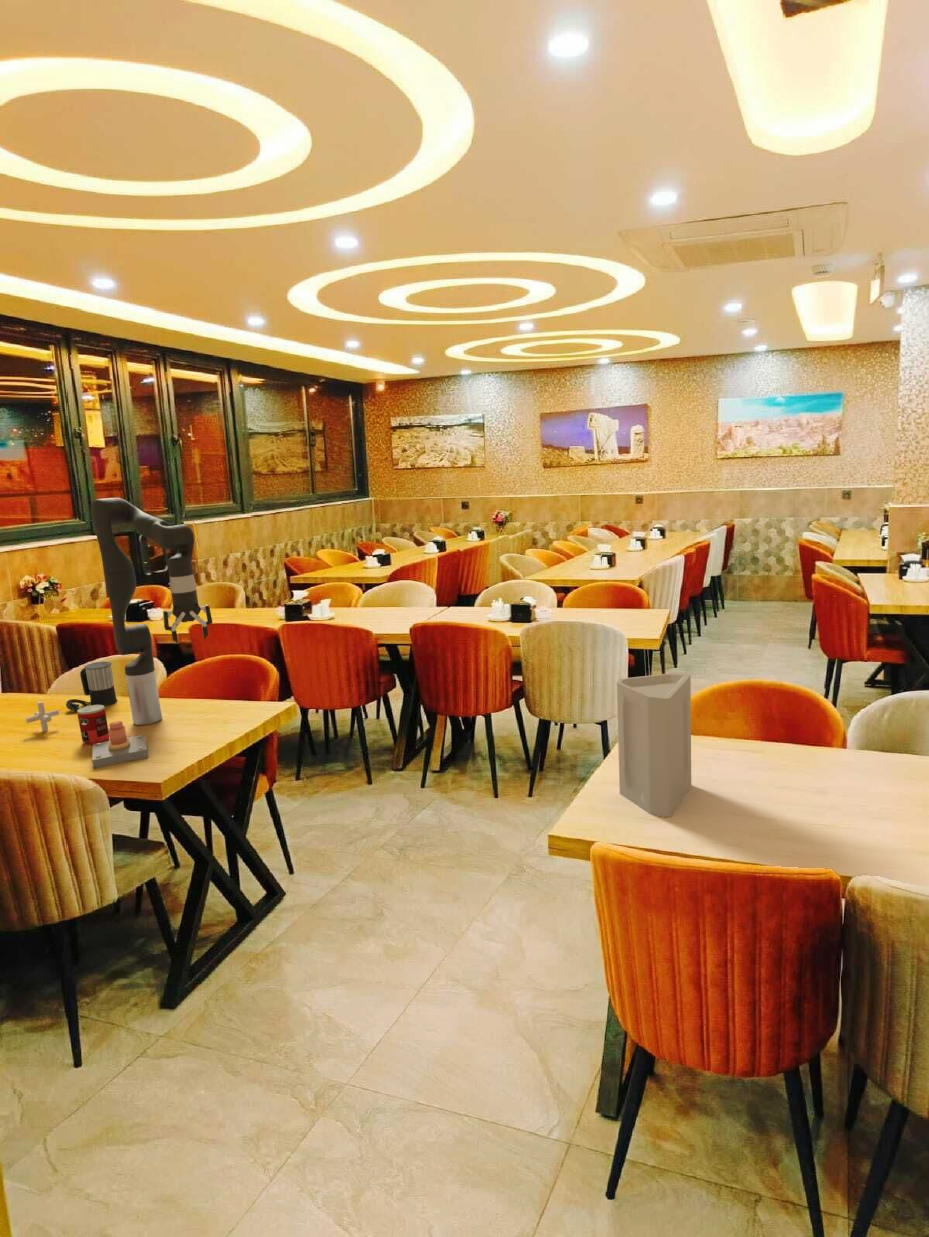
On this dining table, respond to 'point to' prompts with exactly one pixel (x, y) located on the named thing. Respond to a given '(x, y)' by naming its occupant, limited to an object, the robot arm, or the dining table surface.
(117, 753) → the square plate with knob
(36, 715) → the pipe connector
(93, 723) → the canned food
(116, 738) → the orange rounded knob
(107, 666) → the milk frother
